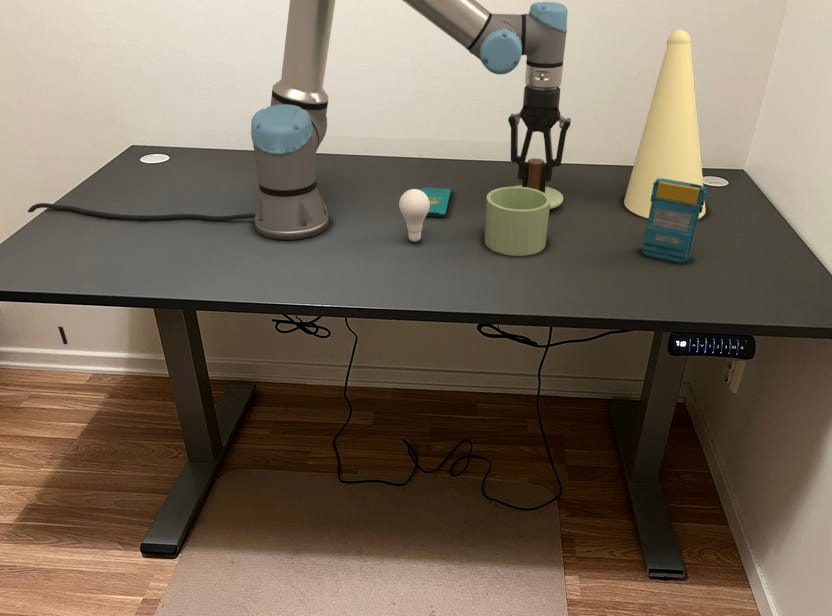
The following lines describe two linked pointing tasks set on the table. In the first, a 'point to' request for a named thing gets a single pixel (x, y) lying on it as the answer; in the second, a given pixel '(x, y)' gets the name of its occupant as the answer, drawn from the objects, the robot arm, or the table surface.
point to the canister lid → (535, 181)
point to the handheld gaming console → (673, 219)
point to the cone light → (668, 130)
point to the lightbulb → (414, 211)
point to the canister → (516, 220)
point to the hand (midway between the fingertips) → (533, 193)
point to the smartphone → (437, 201)
